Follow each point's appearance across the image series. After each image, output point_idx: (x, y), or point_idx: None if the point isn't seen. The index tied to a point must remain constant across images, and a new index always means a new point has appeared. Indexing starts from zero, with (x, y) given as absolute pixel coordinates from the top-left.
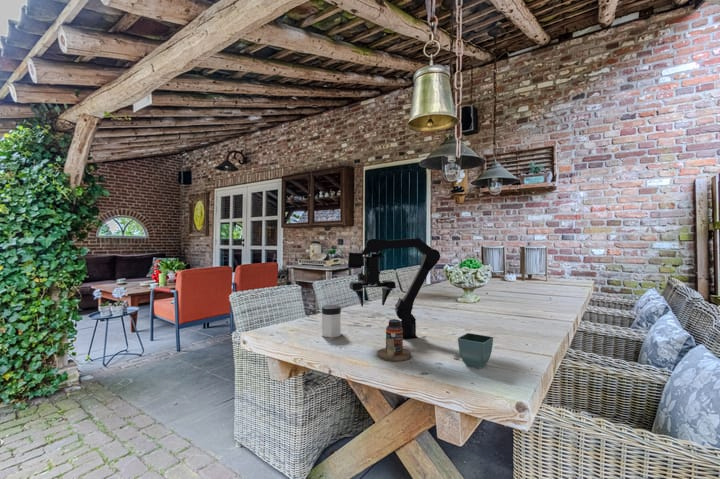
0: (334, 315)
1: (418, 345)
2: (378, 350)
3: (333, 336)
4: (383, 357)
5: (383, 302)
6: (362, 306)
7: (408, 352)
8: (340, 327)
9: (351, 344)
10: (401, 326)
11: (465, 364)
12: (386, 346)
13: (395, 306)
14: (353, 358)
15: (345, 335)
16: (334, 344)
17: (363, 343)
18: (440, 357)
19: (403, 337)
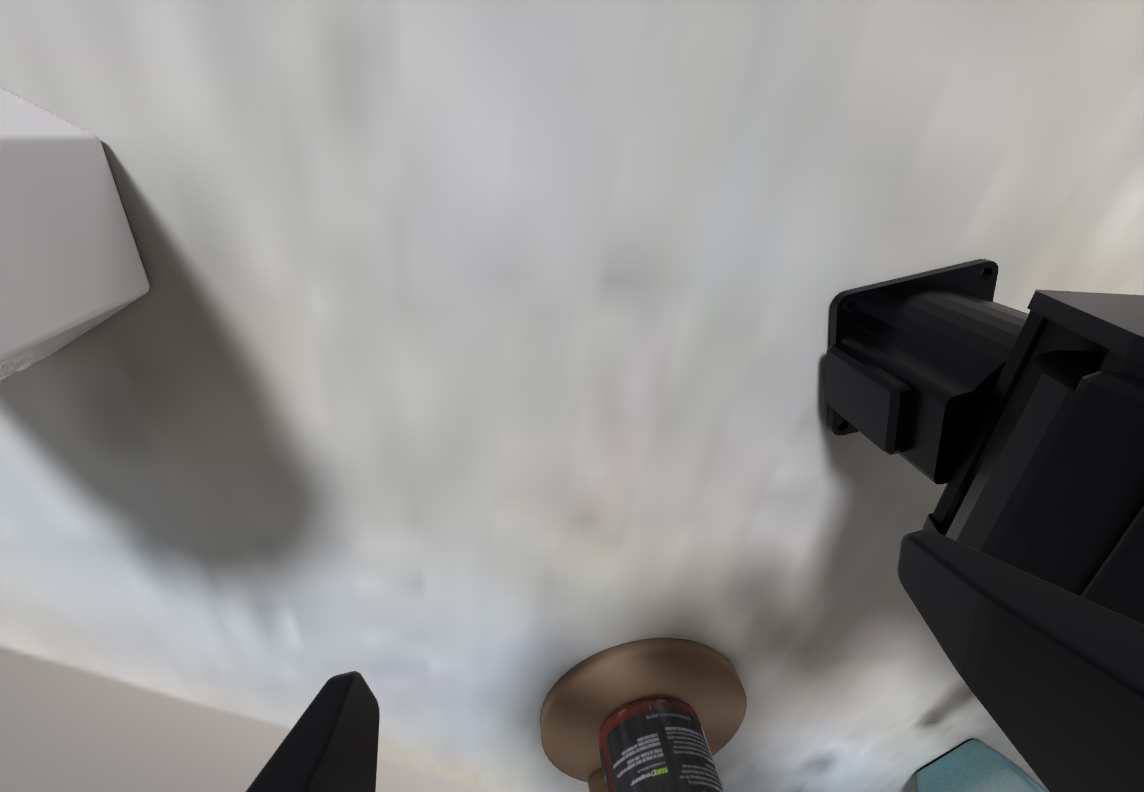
0: None
1: (863, 559)
2: (554, 705)
3: (68, 342)
4: (568, 771)
5: (953, 663)
6: (368, 707)
7: (728, 718)
8: (75, 323)
9: (345, 548)
10: (901, 450)
11: (916, 777)
12: (604, 781)
13: (1124, 551)
14: (393, 755)
15: (215, 263)
16: (180, 550)
17: (453, 525)
18: (870, 711)
19: (839, 422)
